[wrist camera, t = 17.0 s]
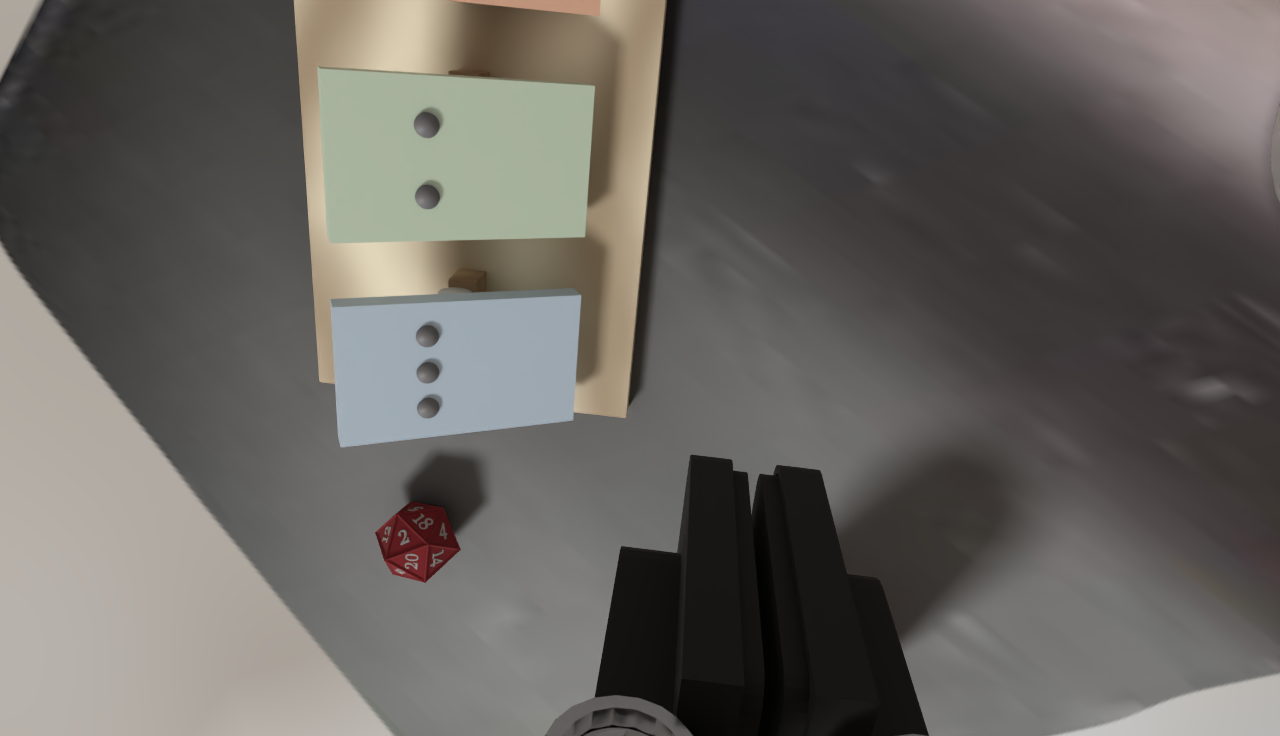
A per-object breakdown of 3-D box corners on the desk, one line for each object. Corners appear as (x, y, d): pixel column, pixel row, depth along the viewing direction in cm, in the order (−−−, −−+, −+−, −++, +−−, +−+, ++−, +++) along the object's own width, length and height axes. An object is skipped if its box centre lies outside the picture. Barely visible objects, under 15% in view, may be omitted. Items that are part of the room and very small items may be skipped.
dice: (467, 556, 44) (445, 603, 41) (387, 540, 44) (358, 586, 41) (474, 497, 43) (452, 541, 39) (391, 481, 43) (361, 523, 39)
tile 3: (562, 278, 37) (582, 296, 35) (555, 398, 39) (573, 421, 37) (326, 287, 33) (332, 308, 31) (334, 421, 35) (341, 448, 33)
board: (682, -164, 31) (680, -183, 28) (628, 407, 40) (622, 435, 37) (295, -199, 31) (254, -221, 28) (330, 372, 41) (302, 397, 38)
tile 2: (572, 79, 34) (596, 86, 31) (564, 223, 36) (585, 237, 34) (313, 62, 29) (321, 69, 27) (323, 227, 32) (330, 244, 29)
